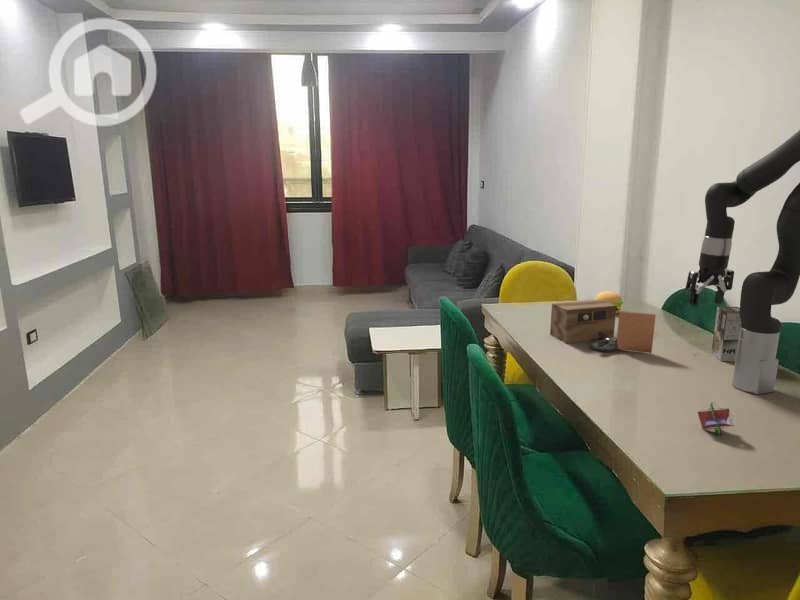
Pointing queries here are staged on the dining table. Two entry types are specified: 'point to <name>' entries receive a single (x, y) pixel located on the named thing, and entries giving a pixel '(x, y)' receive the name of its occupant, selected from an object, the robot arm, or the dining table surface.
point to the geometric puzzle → (716, 418)
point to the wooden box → (582, 320)
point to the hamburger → (611, 299)
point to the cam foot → (628, 334)
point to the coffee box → (726, 333)
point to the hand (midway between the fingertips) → (705, 304)
